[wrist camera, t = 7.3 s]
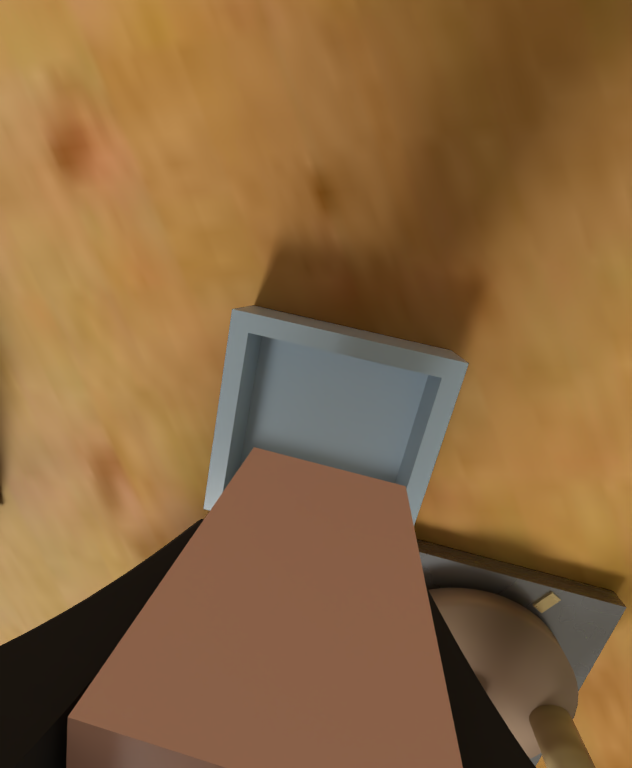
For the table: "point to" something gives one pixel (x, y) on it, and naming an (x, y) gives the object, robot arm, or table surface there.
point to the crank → (518, 672)
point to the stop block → (280, 638)
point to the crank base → (533, 600)
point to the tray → (332, 400)
